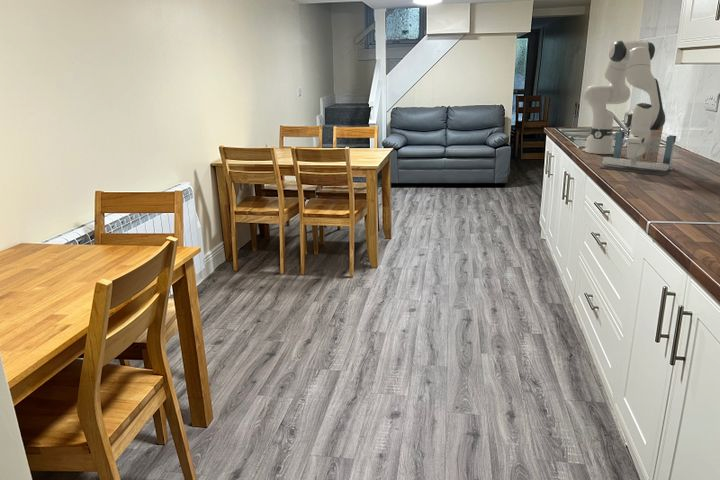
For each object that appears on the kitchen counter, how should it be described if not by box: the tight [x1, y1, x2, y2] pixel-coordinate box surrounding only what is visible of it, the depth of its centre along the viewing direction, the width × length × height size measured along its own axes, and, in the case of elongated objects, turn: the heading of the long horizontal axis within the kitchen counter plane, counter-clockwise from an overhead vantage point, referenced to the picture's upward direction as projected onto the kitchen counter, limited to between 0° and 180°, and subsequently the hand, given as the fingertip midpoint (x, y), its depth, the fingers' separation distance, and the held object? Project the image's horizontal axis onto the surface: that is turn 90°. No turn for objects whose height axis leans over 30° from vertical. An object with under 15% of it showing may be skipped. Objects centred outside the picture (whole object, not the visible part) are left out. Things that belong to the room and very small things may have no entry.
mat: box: [599, 164, 670, 177], centre depth 274 cm, size 10×30×1 cm, turn 50°
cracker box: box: [639, 125, 664, 163], centre depth 290 cm, size 14×6×21 cm, turn 179°
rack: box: [607, 130, 677, 173], centre depth 280 cm, size 8×30×17 cm, turn 50°
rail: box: [602, 156, 669, 171], centre depth 273 cm, size 3×30×3 cm, turn 50°
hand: (634, 165), depth 273 cm, fingers closed on rail, 3 cm apart
